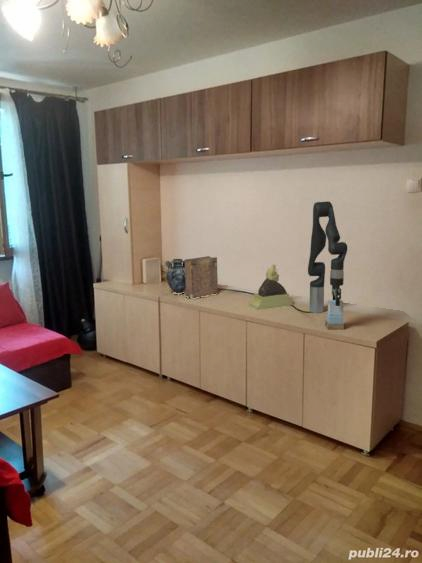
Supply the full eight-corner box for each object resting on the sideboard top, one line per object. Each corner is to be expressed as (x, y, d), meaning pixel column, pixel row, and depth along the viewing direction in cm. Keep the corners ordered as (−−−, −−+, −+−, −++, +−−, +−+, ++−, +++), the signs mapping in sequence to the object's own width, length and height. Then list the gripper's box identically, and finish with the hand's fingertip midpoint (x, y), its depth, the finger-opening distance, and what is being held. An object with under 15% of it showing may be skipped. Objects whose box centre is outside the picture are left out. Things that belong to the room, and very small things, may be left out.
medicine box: (341, 314, 271) (341, 299, 269) (342, 316, 266) (343, 301, 265) (327, 314, 271) (328, 300, 269) (329, 316, 267) (329, 301, 265)
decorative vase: (184, 289, 385) (183, 256, 379) (195, 293, 370) (194, 259, 364) (161, 293, 374) (160, 259, 368) (172, 297, 358) (170, 262, 353)
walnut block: (325, 326, 275) (325, 319, 274) (340, 326, 274) (340, 319, 274) (327, 330, 266) (328, 324, 265) (343, 330, 266) (343, 323, 265)
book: (210, 292, 372) (209, 256, 366) (218, 294, 365) (217, 257, 359) (185, 297, 356) (184, 259, 350) (193, 299, 349) (192, 260, 343)
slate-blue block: (326, 319, 274) (326, 313, 273) (339, 319, 273) (339, 313, 273) (328, 323, 266) (329, 317, 265) (342, 323, 265) (343, 317, 265)
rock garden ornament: (282, 301, 336) (283, 261, 330) (292, 305, 324) (293, 263, 319) (248, 306, 325) (248, 264, 320) (257, 310, 314) (257, 267, 308)
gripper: (327, 274, 272) (327, 301, 275) (332, 279, 258) (331, 307, 261) (340, 274, 271) (339, 300, 274) (346, 279, 257) (345, 307, 260)
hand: (335, 303), depth 268 cm, fingers open, 8 cm apart
